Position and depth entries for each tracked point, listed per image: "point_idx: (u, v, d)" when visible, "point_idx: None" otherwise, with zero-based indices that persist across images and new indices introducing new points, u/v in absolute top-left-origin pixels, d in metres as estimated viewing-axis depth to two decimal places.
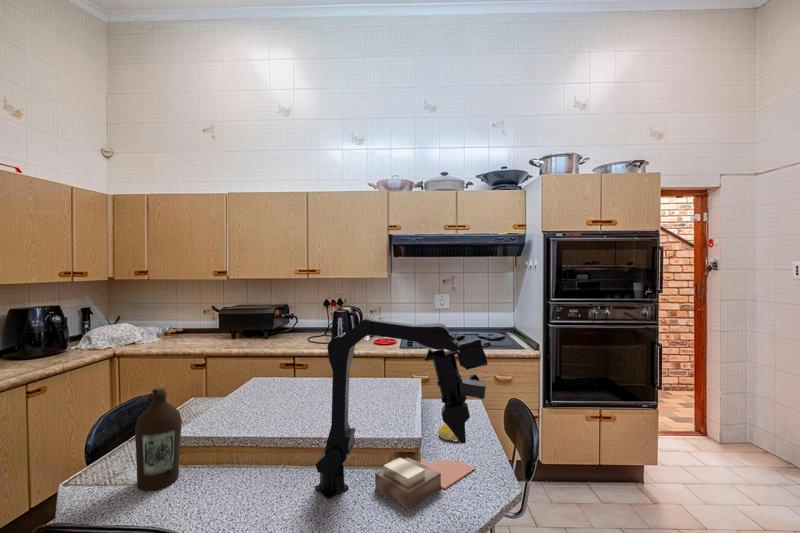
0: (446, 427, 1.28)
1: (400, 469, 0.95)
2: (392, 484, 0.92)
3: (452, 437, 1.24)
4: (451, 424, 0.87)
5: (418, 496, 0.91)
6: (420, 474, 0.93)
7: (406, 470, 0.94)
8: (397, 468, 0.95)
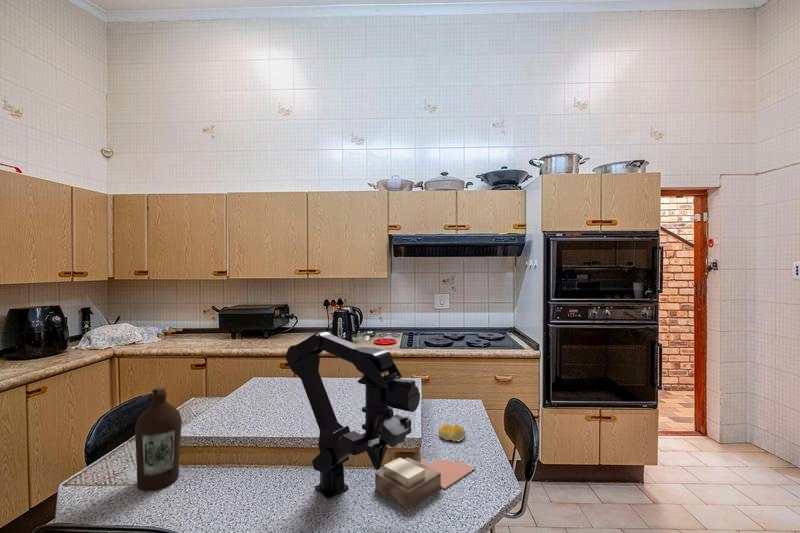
0: (446, 427, 1.27)
1: (400, 469, 0.95)
2: (392, 484, 0.92)
3: (452, 437, 1.24)
4: None
5: (418, 496, 0.91)
6: (420, 474, 0.93)
7: (406, 470, 0.94)
8: (397, 468, 0.95)
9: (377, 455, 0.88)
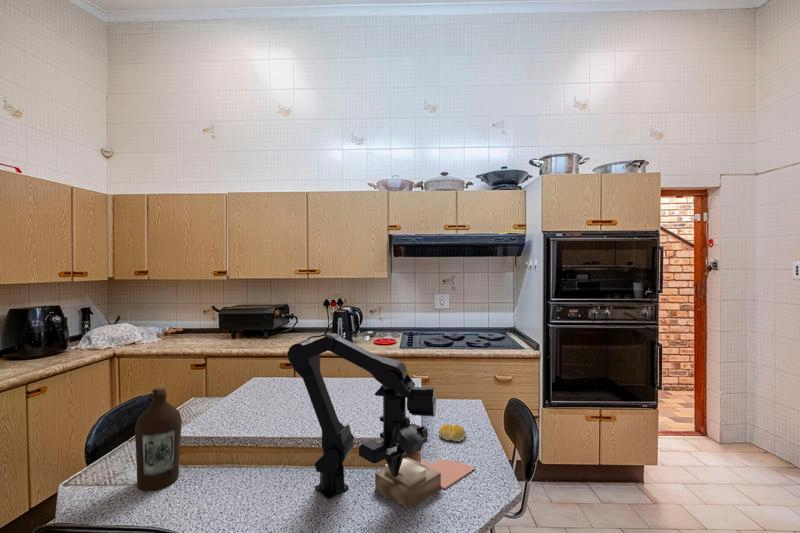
0: (446, 427, 1.27)
1: (402, 469, 0.95)
2: (392, 484, 0.92)
3: (452, 437, 1.23)
4: None
5: (418, 496, 0.91)
6: (421, 474, 0.94)
7: (407, 469, 0.94)
8: None
9: (395, 463, 0.92)
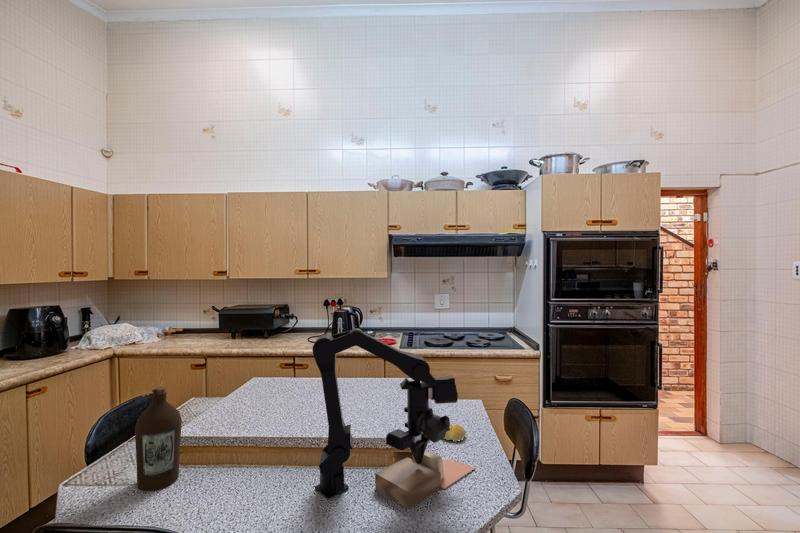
0: None
1: None
2: (392, 484, 0.92)
3: (453, 437, 1.23)
4: None
5: (418, 496, 0.91)
6: (442, 472, 1.00)
7: None
8: None
9: (419, 450, 0.98)
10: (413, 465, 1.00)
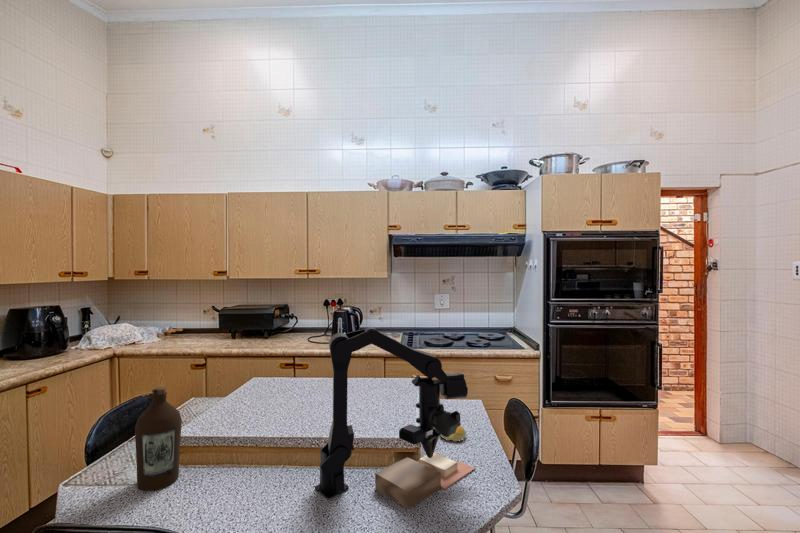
0: None
1: None
2: (392, 484, 0.92)
3: (453, 437, 1.23)
4: None
5: (418, 496, 0.91)
6: (448, 472, 1.02)
7: None
8: None
9: (430, 445, 1.01)
10: (413, 465, 1.00)
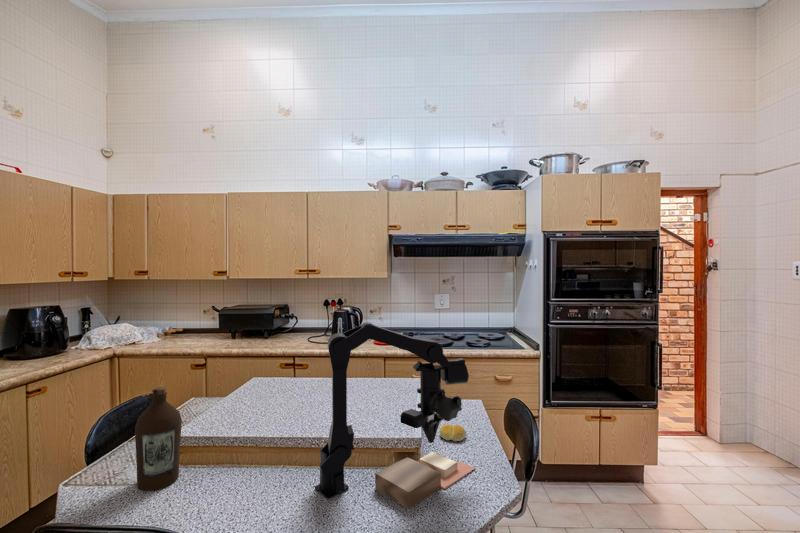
0: (447, 427, 1.27)
1: None
2: (392, 484, 0.92)
3: (453, 437, 1.23)
4: None
5: (418, 496, 0.91)
6: (448, 472, 1.02)
7: None
8: None
9: (432, 430, 1.02)
10: (413, 465, 1.00)
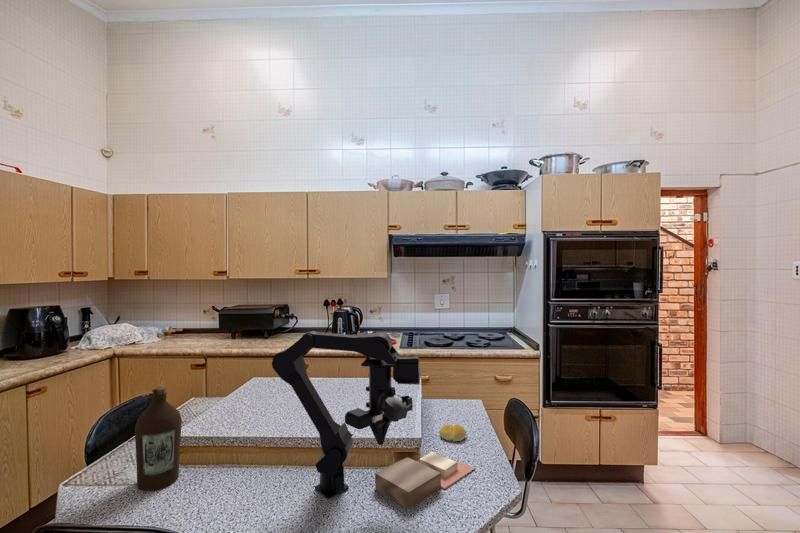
0: (447, 427, 1.27)
1: None
2: (392, 484, 0.92)
3: (453, 437, 1.23)
4: None
5: (418, 496, 0.91)
6: (448, 472, 1.02)
7: None
8: None
9: (380, 431, 0.94)
10: (413, 465, 1.00)
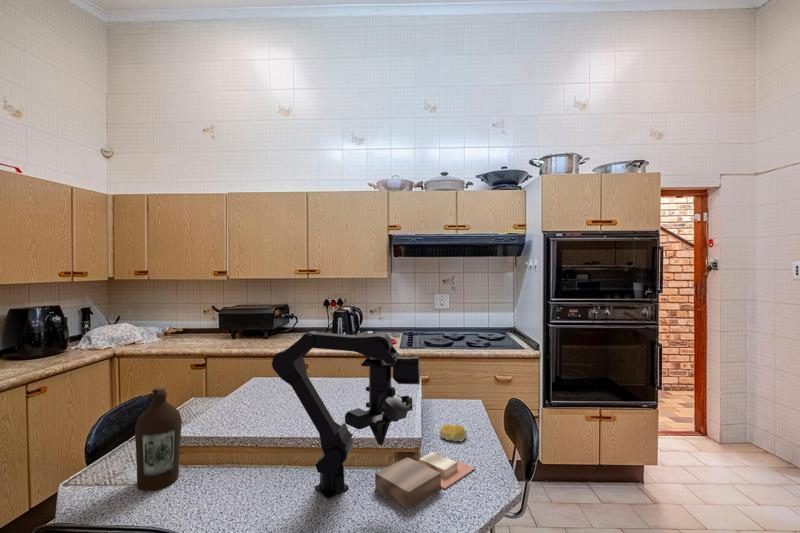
0: (447, 427, 1.27)
1: None
2: (392, 484, 0.92)
3: (454, 437, 1.23)
4: None
5: (418, 496, 0.91)
6: (448, 472, 1.02)
7: None
8: None
9: (380, 431, 0.94)
10: (413, 465, 1.00)
